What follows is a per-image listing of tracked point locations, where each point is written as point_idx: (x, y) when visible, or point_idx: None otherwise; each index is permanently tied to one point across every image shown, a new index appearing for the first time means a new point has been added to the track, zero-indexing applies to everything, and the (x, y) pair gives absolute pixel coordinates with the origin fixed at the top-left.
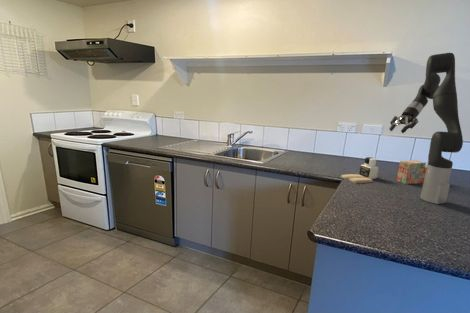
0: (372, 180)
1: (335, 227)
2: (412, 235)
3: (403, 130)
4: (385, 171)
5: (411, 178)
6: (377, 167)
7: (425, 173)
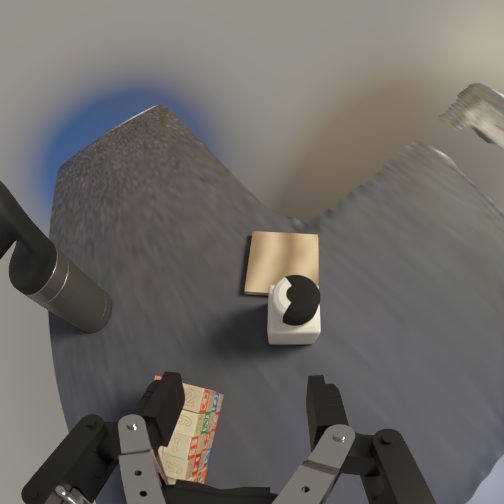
0: (245, 291)
1: (153, 118)
2: (92, 167)
3: (158, 381)
4: None
5: None
6: (267, 325)
7: None
